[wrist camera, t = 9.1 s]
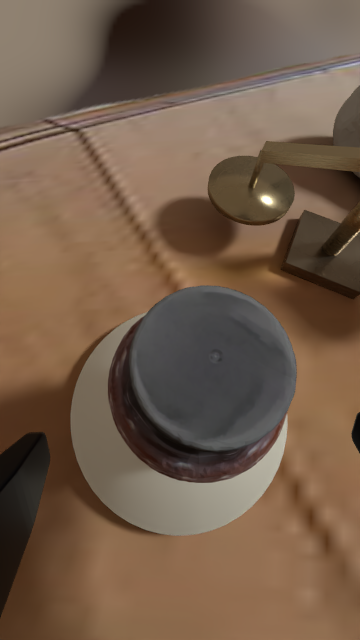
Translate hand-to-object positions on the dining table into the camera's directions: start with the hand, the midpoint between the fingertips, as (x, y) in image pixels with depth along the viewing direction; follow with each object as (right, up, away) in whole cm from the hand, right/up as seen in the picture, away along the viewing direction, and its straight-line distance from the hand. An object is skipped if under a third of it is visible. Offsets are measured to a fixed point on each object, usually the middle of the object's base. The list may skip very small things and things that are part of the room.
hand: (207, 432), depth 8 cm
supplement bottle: (-1, -2, +9) cm, 9 cm away
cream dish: (-1, -2, +10) cm, 10 cm away
